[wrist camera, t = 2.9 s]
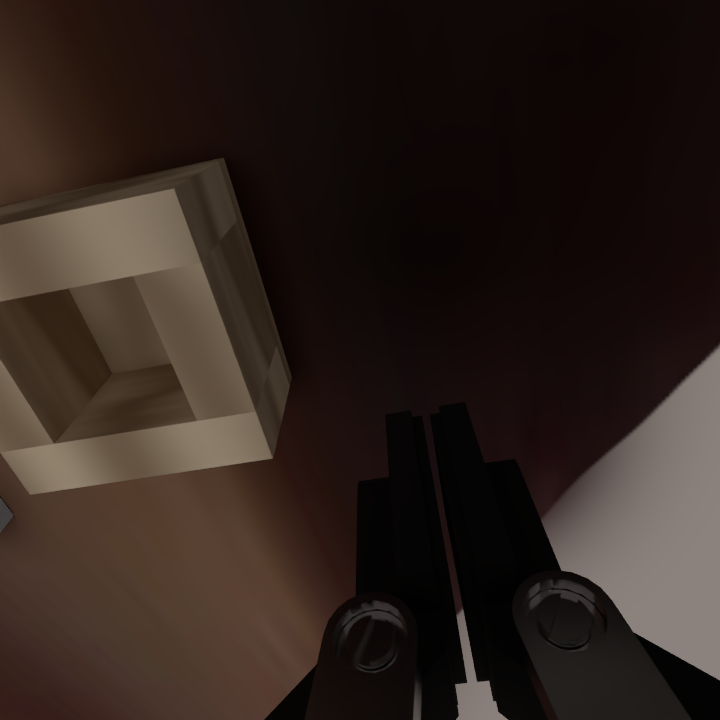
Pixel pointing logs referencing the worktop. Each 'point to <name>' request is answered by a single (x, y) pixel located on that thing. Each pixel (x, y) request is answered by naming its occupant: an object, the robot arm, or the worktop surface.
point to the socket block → (135, 333)
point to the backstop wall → (4, 515)
